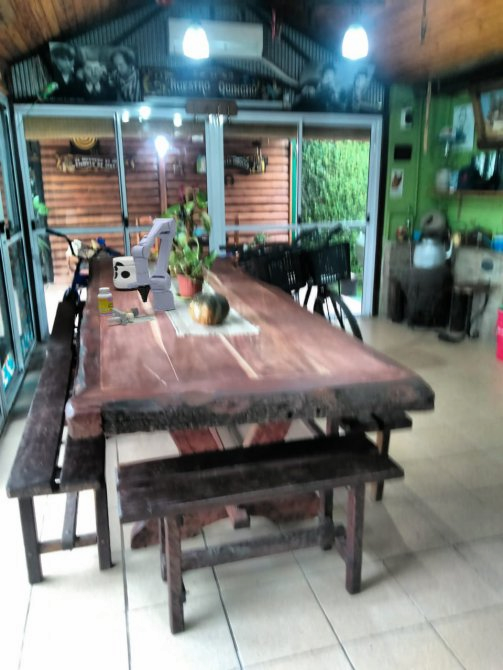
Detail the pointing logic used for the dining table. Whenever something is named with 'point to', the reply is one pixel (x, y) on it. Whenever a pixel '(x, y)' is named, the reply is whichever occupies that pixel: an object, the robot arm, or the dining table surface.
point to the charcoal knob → (133, 310)
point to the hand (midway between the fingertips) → (144, 302)
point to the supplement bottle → (105, 302)
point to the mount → (136, 318)
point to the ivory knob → (128, 317)
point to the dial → (127, 311)
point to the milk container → (124, 272)
